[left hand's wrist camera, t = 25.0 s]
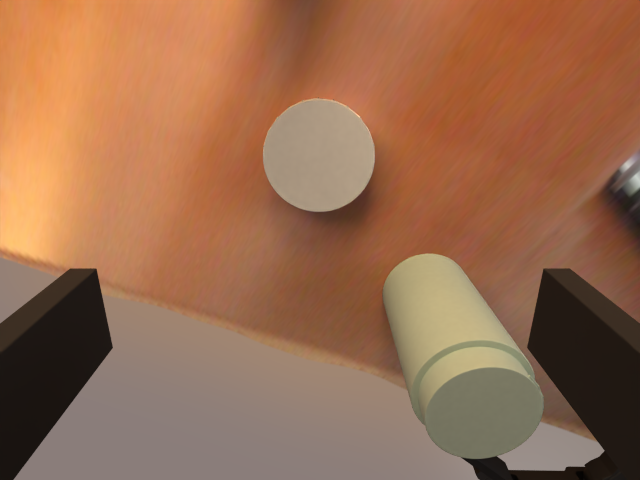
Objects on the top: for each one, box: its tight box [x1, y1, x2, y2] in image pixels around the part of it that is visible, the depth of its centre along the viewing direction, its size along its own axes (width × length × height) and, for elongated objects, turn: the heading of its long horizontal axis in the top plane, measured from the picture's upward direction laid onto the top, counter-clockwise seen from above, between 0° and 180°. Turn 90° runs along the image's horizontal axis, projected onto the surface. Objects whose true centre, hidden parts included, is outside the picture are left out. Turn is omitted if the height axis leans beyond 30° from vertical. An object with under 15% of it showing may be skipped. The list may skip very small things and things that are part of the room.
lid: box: [263, 97, 375, 212], centre depth 37 cm, size 9×10×2 cm
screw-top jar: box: [383, 254, 544, 459], centre depth 35 cm, size 8×8×16 cm
